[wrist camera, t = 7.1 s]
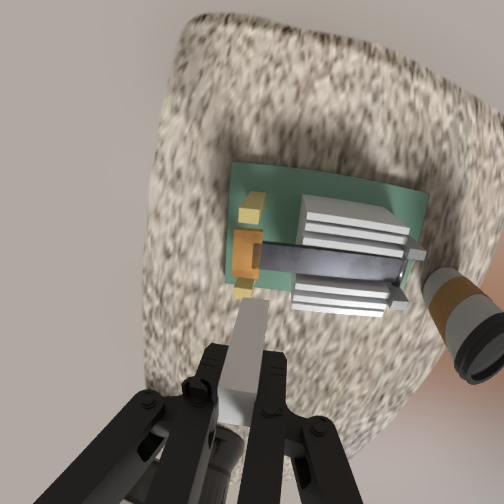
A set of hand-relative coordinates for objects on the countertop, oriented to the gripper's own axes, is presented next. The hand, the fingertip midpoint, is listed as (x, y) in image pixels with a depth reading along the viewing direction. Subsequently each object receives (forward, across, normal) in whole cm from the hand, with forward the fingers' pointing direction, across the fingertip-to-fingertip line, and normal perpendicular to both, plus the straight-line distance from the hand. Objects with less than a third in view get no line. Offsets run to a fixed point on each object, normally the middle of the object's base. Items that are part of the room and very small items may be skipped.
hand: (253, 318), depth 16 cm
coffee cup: (+17, +24, -5) cm, 30 cm away
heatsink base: (+16, +6, 0) cm, 18 cm away
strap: (+10, +5, 0) cm, 11 cm away
